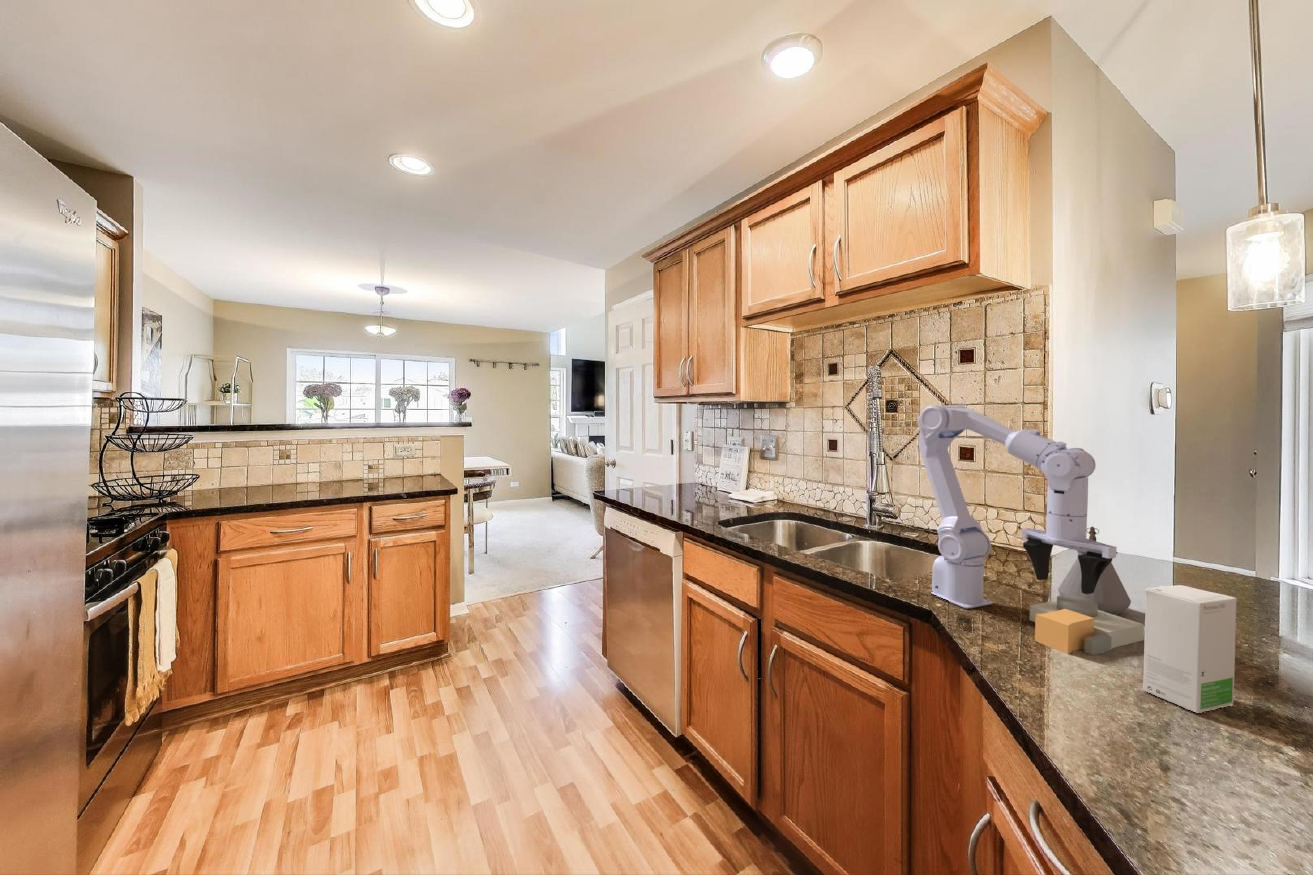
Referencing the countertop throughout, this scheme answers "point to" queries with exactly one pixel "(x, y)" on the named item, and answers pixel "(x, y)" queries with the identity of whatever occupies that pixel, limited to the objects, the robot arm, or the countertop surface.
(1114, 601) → the grey faceted tapered shape
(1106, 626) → the grey stand
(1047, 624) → the orange lidded tapered block
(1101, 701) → the countertop surface
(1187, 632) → the skincare box
